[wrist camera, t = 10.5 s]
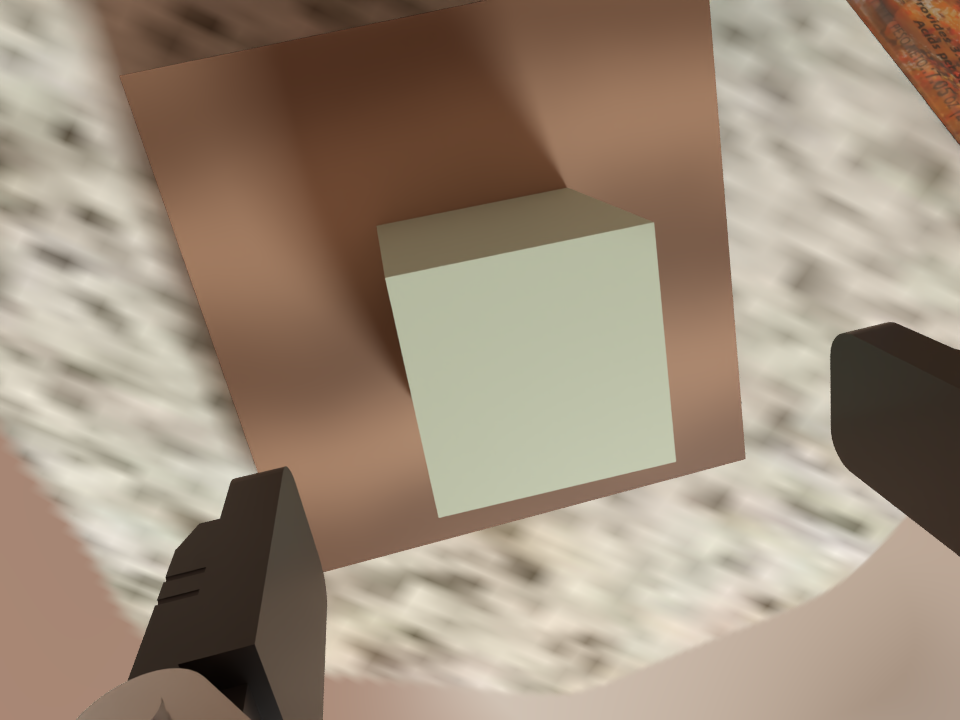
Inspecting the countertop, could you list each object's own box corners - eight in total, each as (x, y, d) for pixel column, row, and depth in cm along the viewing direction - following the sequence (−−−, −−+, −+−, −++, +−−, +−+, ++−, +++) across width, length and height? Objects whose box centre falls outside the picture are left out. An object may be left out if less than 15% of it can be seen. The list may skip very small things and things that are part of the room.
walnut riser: (160, 79, 21) (119, 75, 17) (644, -21, 22) (705, -45, 18) (303, 508, 26) (295, 579, 22) (690, 408, 27) (745, 459, 23)
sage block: (376, 225, 19) (385, 278, 13) (567, 187, 19) (653, 222, 14) (415, 404, 21) (438, 517, 15) (590, 366, 21) (676, 461, 15)
